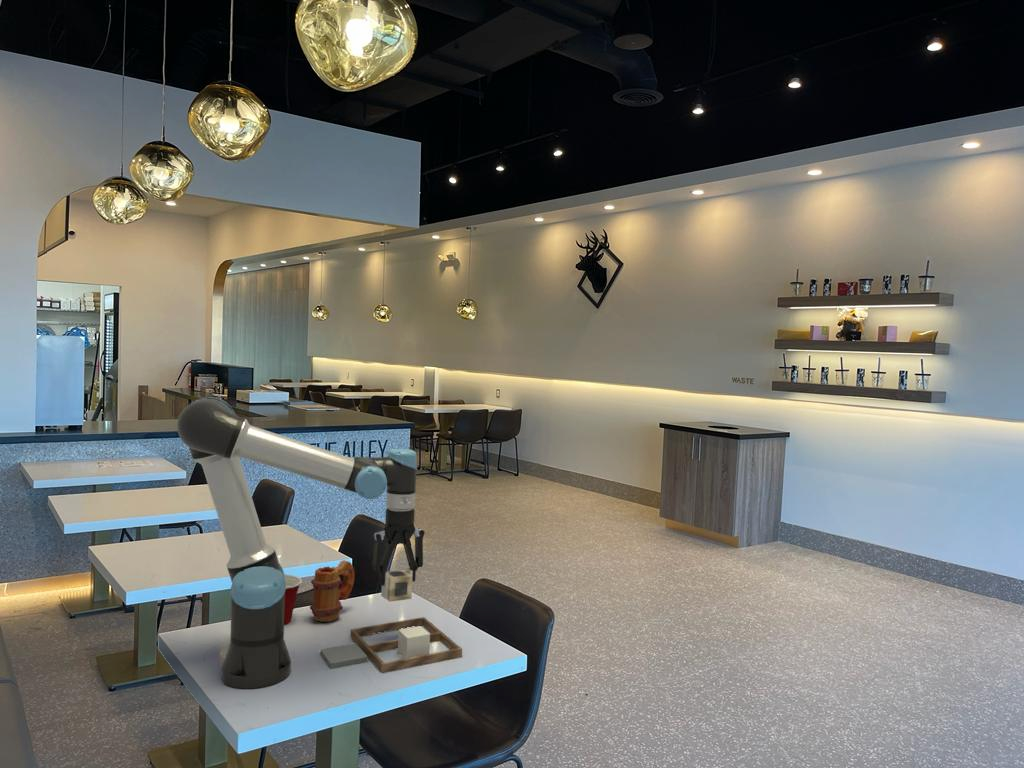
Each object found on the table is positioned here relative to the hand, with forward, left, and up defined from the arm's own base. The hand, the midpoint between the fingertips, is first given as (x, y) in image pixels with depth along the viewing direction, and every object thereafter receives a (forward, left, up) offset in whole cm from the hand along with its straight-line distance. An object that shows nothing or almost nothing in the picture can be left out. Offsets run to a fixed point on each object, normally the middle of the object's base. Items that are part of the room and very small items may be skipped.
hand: (396, 595), depth 188 cm
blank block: (0, -12, -12) cm, 17 cm away
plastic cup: (-24, +24, -12) cm, 36 cm away
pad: (-16, -6, -12) cm, 20 cm away
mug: (-10, +22, -12) cm, 27 cm away
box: (0, -6, -12) cm, 13 cm away
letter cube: (0, 0, 0) cm, 0 cm away
